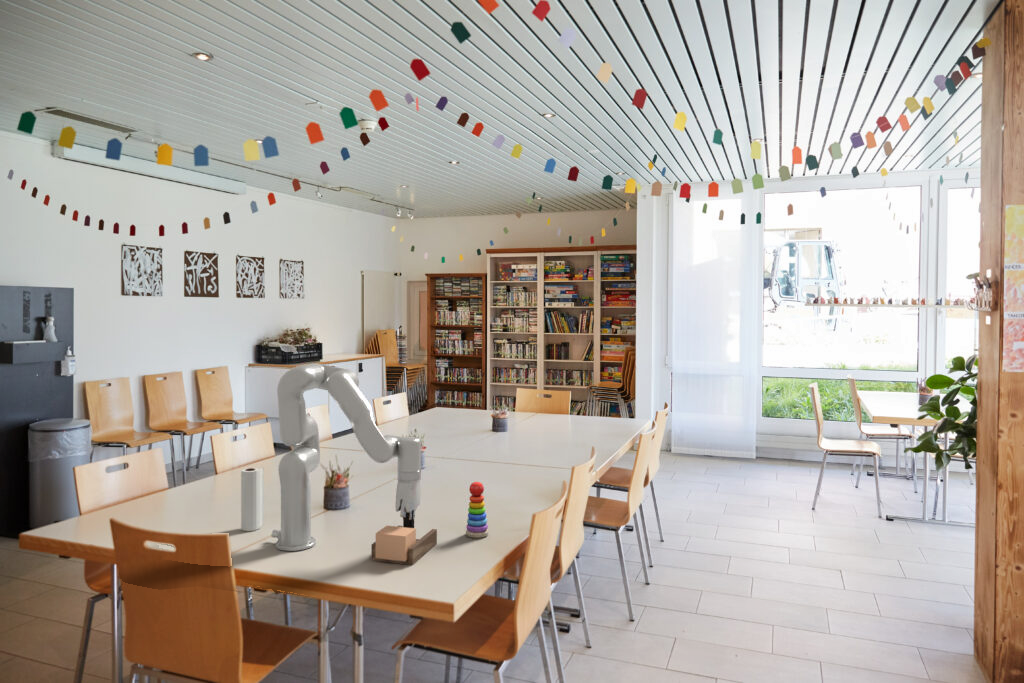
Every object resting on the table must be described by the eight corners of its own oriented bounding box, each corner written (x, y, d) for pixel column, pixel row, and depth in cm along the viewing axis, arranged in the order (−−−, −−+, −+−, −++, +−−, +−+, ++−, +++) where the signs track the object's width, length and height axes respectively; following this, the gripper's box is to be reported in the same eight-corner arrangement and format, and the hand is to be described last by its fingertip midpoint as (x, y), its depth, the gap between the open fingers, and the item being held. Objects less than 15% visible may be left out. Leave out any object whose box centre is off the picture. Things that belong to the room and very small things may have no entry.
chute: (371, 560, 213) (371, 544, 213) (398, 539, 232) (398, 525, 232) (412, 565, 209) (413, 548, 209) (436, 544, 228) (436, 529, 228)
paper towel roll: (240, 532, 237) (240, 471, 237) (242, 527, 243) (242, 467, 242) (262, 530, 239) (262, 470, 239) (263, 525, 245) (263, 466, 244)
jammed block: (375, 558, 211) (375, 533, 211) (386, 549, 219) (386, 525, 218) (405, 561, 208) (405, 536, 208) (415, 552, 216) (415, 528, 216)
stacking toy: (488, 531, 243) (489, 479, 242) (488, 538, 235) (489, 485, 234) (466, 531, 242) (466, 479, 242) (465, 538, 234) (466, 484, 234)
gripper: (408, 469, 230) (407, 523, 231) (388, 479, 216) (388, 536, 217) (428, 471, 228) (428, 525, 229) (410, 481, 214) (409, 539, 215)
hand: (408, 530), depth 223 cm, fingers closed
